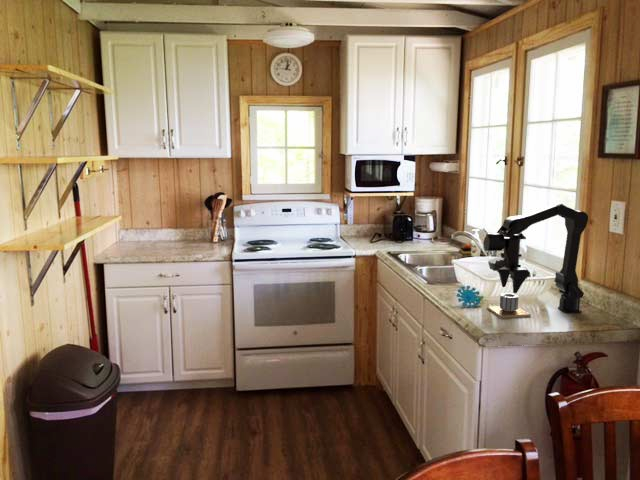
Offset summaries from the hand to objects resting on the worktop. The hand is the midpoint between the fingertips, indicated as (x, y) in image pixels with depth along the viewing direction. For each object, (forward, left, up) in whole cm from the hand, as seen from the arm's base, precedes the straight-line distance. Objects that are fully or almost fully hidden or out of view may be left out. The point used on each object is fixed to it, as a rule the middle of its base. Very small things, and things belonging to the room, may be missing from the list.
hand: (509, 290), depth 213 cm
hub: (0, 0, -7) cm, 7 cm away
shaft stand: (0, 0, -9) cm, 9 cm away
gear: (+11, -12, -9) cm, 18 cm away
